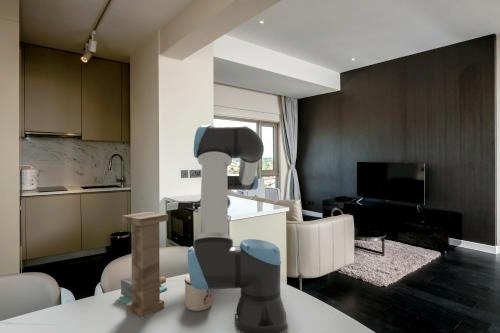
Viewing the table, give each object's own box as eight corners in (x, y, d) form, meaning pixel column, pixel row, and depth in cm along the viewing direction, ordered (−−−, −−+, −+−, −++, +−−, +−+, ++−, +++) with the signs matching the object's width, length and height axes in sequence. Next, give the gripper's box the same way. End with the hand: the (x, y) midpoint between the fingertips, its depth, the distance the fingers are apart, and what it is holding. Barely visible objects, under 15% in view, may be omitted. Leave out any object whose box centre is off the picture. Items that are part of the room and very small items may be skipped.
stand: (168, 306, 96) (168, 214, 96) (141, 320, 88) (140, 219, 88) (149, 298, 102) (149, 211, 102) (122, 310, 94) (121, 215, 94)
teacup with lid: (209, 312, 93) (209, 275, 93) (180, 311, 94) (180, 274, 93) (216, 295, 105) (216, 262, 105) (191, 294, 106) (191, 261, 105)
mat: (166, 289, 109) (166, 287, 109) (129, 305, 97) (129, 303, 97) (156, 285, 113) (156, 283, 113) (119, 300, 101) (119, 298, 100)
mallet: (157, 280, 116) (157, 267, 116) (170, 285, 111) (170, 272, 111) (121, 294, 104) (120, 279, 104) (133, 300, 99) (133, 285, 99)
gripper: (234, 216, 127) (211, 223, 107) (184, 210, 135) (154, 214, 116) (236, 199, 127) (213, 202, 107) (185, 193, 136) (156, 195, 116)
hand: (182, 208), depth 111 cm, fingers open, 13 cm apart
